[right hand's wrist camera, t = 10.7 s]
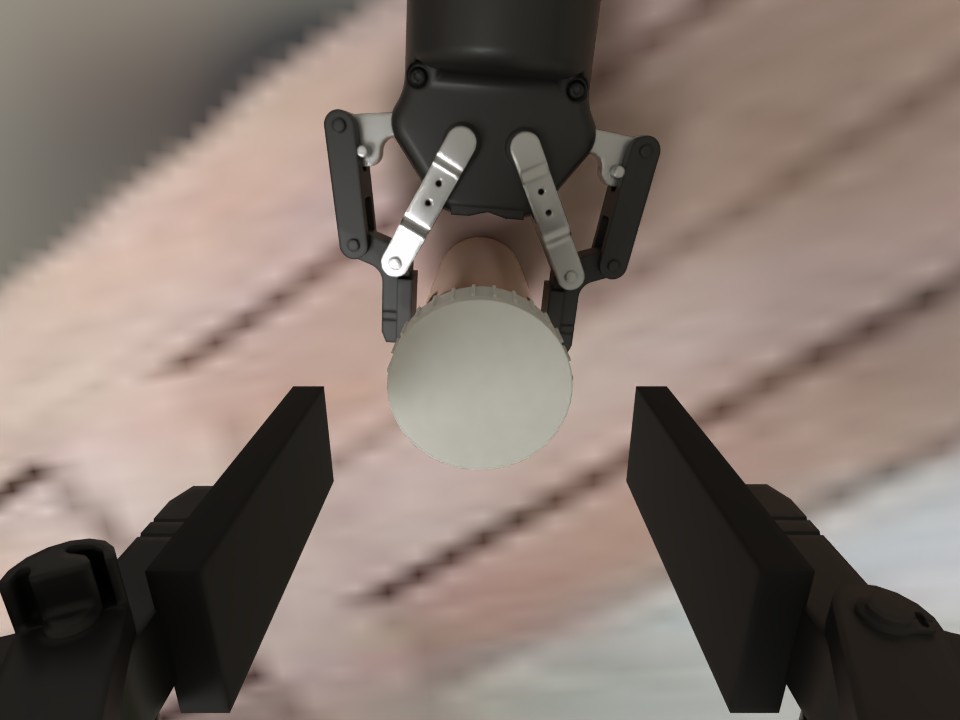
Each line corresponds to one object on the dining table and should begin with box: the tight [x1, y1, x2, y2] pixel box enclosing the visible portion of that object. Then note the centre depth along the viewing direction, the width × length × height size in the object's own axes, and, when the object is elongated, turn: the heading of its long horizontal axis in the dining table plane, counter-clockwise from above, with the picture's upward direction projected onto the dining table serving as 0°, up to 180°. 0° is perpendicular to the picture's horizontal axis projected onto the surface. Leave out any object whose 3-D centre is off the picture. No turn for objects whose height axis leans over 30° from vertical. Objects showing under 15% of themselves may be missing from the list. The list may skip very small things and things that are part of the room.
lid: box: [387, 284, 573, 470], centre depth 18 cm, size 6×6×2 cm
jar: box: [426, 237, 533, 304], centre depth 25 cm, size 5×5×16 cm
